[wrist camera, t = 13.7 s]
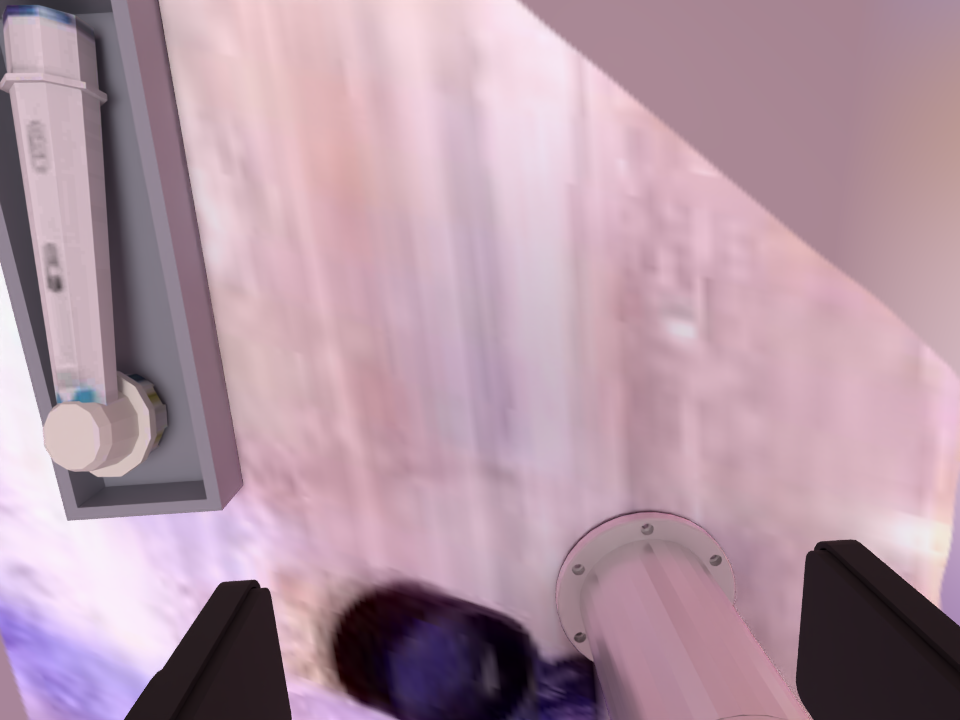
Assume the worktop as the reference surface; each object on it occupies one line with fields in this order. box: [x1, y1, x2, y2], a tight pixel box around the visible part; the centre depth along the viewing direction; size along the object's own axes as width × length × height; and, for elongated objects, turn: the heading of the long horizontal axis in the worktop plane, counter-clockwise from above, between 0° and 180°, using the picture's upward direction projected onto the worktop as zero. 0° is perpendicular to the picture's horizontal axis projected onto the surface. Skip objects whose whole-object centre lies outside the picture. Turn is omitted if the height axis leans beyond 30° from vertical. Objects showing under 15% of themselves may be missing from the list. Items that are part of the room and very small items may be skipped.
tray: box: [0, 0, 243, 521], centre depth 35 cm, size 30×10×4 cm, turn 4°
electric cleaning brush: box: [0, 5, 168, 477], centre depth 33 cm, size 5×7×25 cm
